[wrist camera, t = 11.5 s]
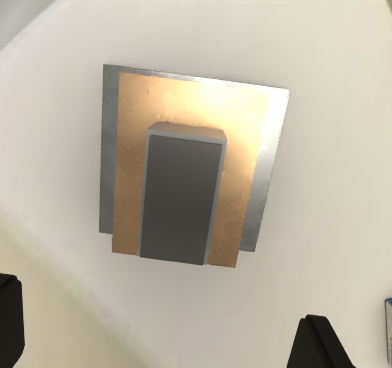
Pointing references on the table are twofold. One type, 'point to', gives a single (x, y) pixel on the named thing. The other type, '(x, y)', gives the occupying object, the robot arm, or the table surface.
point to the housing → (180, 191)
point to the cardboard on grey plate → (193, 116)
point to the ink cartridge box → (389, 329)
